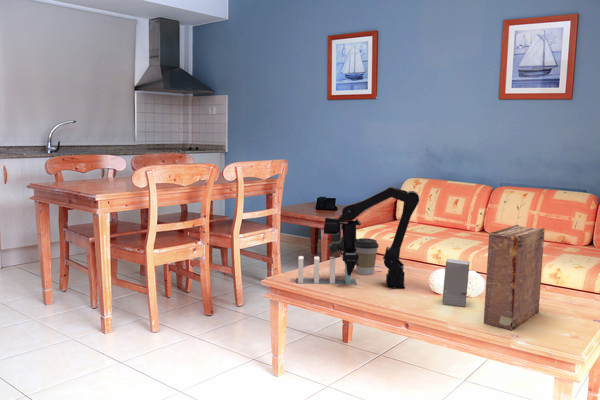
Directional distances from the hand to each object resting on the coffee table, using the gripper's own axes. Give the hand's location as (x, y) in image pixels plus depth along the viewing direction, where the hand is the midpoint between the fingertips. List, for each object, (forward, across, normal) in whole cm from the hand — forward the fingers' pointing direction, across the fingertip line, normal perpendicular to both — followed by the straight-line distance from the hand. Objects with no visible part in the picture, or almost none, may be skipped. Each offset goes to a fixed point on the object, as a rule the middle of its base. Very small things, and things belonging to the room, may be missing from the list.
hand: (348, 272), depth 217 cm
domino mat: (+4, -1, -9) cm, 10 cm away
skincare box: (+5, +25, +37) cm, 45 cm away
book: (+5, +40, +52) cm, 66 cm away
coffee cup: (+4, -16, +9) cm, 19 cm away
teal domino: (+4, 0, 0) cm, 4 cm away
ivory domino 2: (+4, 0, -6) cm, 8 cm away
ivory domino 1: (+4, 0, -13) cm, 14 cm away
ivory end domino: (+4, 0, -20) cm, 20 cm away
